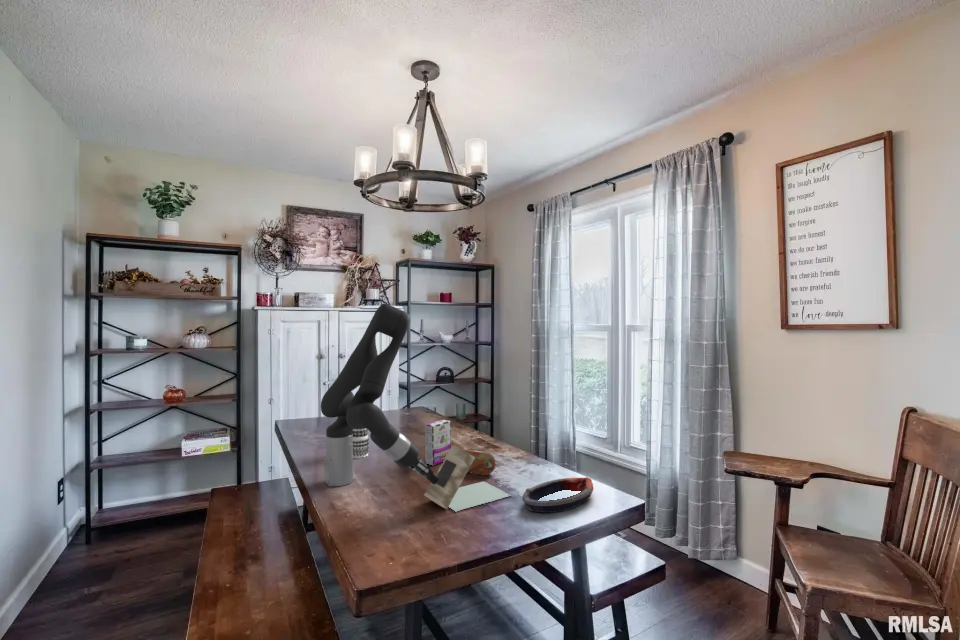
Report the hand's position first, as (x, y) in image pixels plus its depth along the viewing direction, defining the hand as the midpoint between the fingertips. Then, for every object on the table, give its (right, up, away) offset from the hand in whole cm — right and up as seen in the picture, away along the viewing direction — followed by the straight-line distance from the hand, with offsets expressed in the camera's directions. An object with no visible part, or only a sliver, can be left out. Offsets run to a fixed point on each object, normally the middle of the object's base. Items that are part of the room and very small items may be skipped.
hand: (435, 481), depth 146 cm
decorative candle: (-38, -7, +53) cm, 66 cm away
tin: (+13, -8, +31) cm, 35 cm away
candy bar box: (-3, -8, +44) cm, 45 cm away
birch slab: (0, -7, 0) cm, 7 cm away
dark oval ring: (+41, -8, +4) cm, 42 cm away
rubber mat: (+11, -8, +8) cm, 16 cm away
